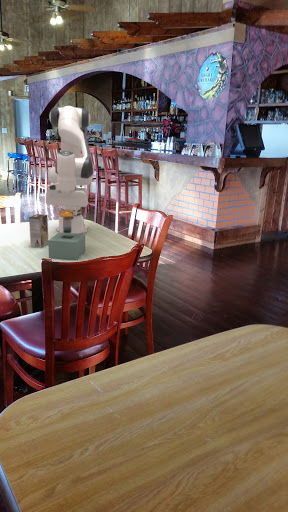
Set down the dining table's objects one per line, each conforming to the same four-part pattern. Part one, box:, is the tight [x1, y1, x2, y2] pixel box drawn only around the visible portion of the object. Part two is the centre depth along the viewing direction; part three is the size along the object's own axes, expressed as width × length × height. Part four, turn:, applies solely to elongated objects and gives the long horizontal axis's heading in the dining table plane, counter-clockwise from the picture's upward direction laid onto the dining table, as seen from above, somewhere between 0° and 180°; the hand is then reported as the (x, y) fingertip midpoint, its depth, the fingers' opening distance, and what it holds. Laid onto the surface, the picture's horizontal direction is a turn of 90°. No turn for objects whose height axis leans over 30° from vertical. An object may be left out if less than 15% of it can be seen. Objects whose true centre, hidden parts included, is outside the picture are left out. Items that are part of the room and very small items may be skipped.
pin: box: [59, 209, 74, 233], centre depth 205 cm, size 7×7×10 cm
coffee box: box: [28, 213, 49, 249], centre depth 221 cm, size 9×6×16 cm
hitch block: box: [48, 231, 86, 261], centre depth 209 cm, size 16×14×9 cm
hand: (67, 214), depth 204 cm, fingers closed on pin, 7 cm apart
